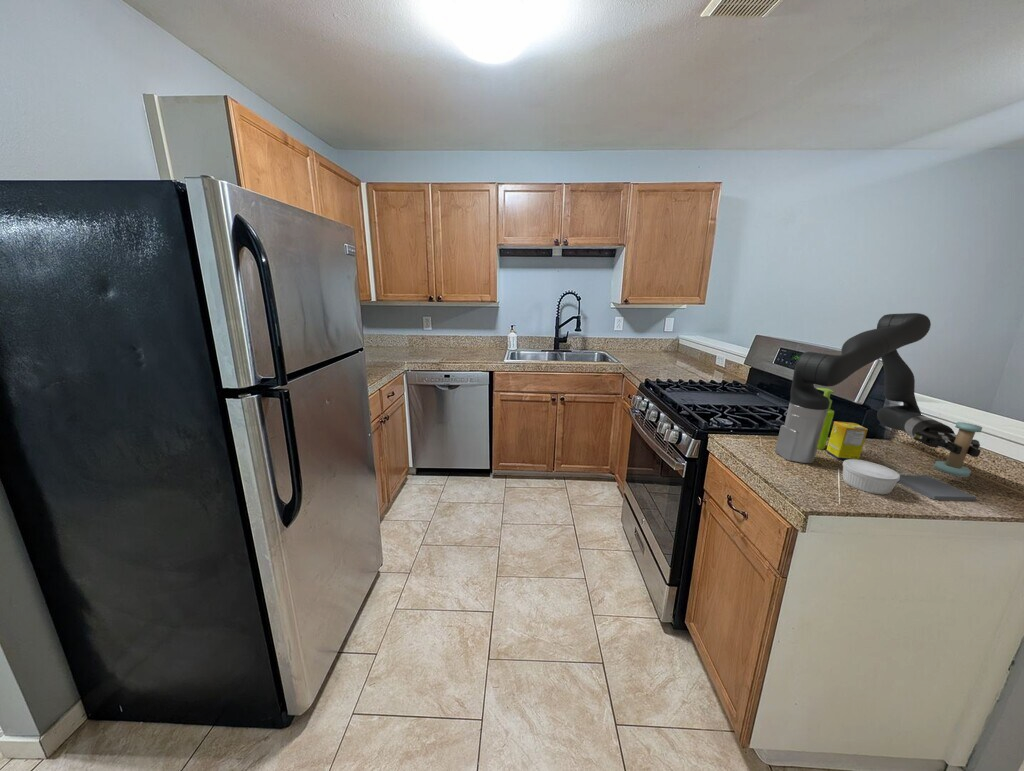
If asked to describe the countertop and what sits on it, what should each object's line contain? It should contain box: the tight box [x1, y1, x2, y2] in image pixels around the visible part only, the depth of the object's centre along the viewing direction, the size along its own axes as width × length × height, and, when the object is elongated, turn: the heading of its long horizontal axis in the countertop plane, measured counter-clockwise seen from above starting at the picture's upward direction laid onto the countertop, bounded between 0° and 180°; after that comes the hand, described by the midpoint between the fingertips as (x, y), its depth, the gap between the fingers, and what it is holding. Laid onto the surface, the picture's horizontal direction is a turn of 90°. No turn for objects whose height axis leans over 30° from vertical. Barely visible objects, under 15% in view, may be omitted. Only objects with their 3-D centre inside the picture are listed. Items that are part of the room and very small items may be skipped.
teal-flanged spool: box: [933, 421, 983, 478], centre depth 99 cm, size 6×6×14 cm
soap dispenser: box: [816, 387, 835, 450], centre depth 122 cm, size 6×7×20 cm
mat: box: [897, 474, 977, 501], centre depth 97 cm, size 11×11×1 cm
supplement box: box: [825, 420, 868, 461], centre depth 114 cm, size 6×6×11 cm
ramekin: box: [842, 459, 901, 495], centre depth 97 cm, size 11×11×5 cm
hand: (968, 452), depth 96 cm, fingers closed on teal-flanged spool, 3 cm apart
